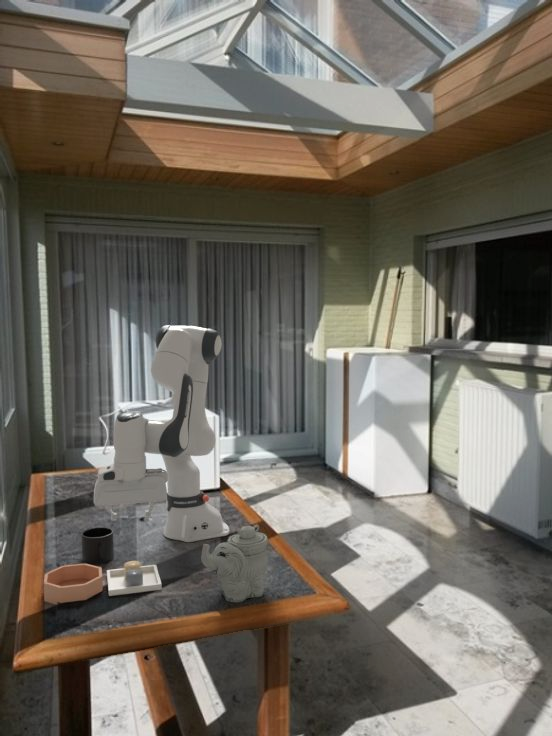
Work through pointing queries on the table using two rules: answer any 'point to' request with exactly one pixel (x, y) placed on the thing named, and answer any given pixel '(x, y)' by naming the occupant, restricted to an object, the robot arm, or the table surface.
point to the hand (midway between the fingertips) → (131, 518)
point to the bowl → (72, 583)
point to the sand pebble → (131, 566)
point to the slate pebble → (134, 578)
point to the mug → (97, 545)
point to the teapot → (239, 563)
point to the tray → (119, 586)
